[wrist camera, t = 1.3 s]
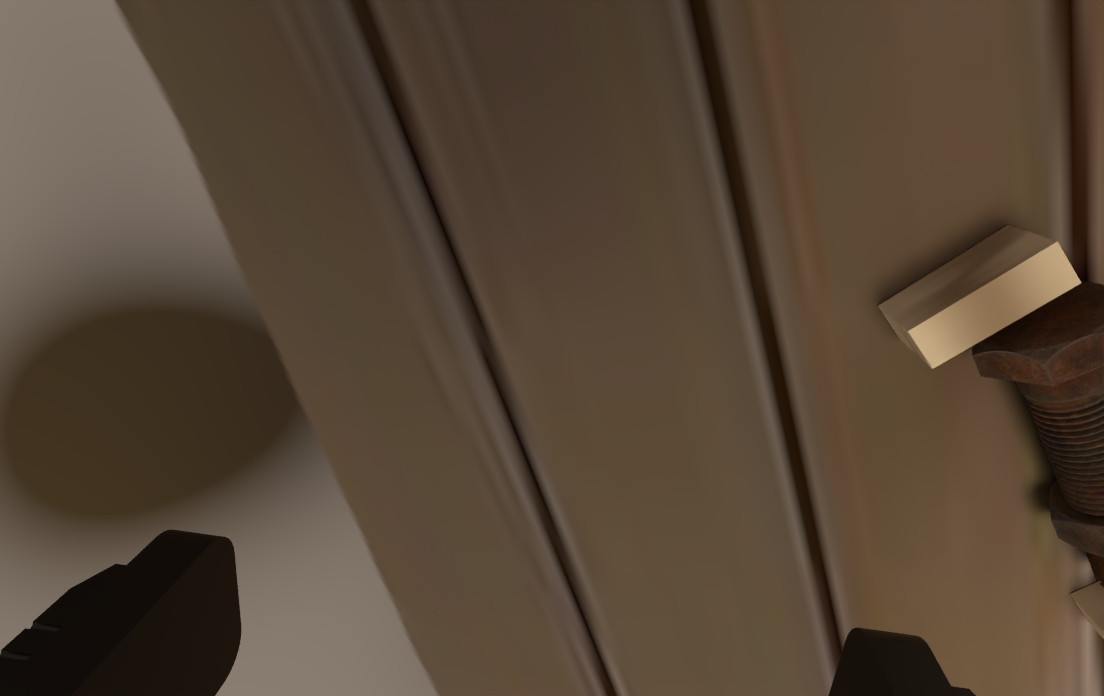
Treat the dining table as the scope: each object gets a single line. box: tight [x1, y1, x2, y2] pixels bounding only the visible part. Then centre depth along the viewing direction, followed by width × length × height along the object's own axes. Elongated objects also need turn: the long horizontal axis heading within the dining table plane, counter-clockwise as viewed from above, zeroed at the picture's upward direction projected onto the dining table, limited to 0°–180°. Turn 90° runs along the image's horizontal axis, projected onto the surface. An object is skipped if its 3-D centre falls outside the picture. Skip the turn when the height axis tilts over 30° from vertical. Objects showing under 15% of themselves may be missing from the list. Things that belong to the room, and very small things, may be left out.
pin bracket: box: [878, 225, 1104, 639], centre depth 30 cm, size 6×21×4 cm, turn 39°
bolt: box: [972, 281, 1104, 587], centre depth 30 cm, size 6×5×15 cm
